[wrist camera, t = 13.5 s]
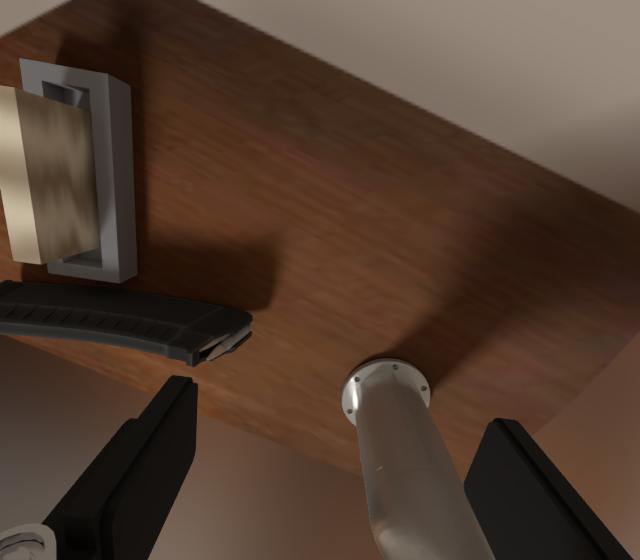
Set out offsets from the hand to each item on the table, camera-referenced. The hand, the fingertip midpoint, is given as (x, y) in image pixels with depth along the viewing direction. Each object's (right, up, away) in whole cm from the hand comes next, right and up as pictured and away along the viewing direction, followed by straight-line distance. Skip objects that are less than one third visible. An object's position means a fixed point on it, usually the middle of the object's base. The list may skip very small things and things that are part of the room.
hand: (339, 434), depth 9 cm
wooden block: (-26, +16, +24) cm, 38 cm away
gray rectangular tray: (-26, +16, +25) cm, 39 cm away
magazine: (-24, +2, +29) cm, 38 cm away
